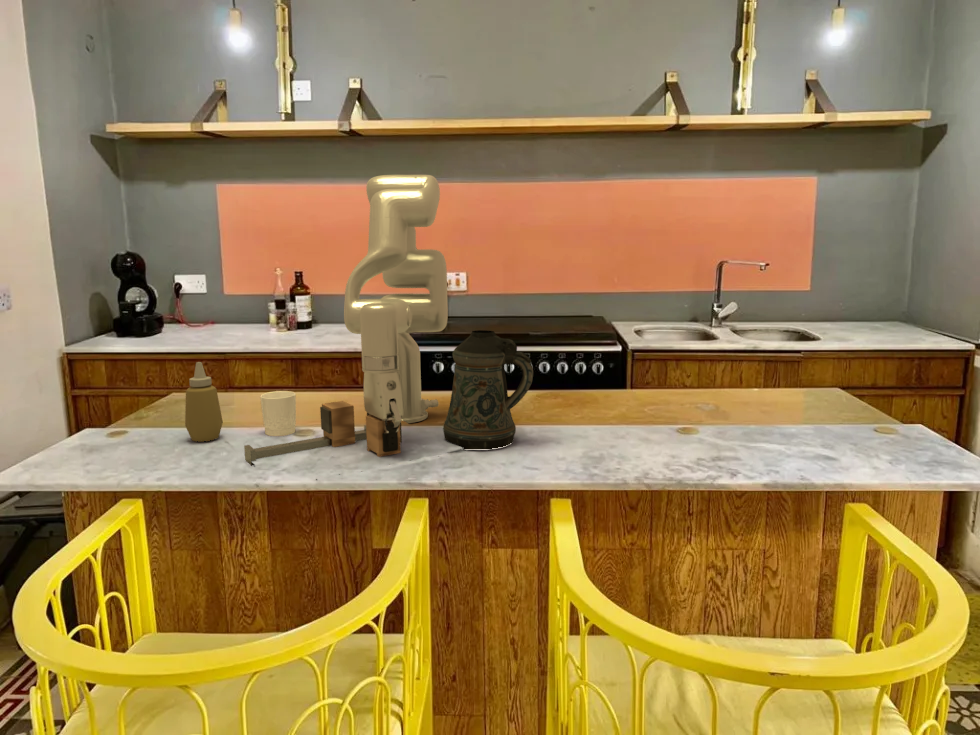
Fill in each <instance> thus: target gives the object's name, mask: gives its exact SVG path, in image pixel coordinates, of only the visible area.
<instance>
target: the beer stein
mask: <svg viewBox="0 0 980 735" xmlns="http://www.w3.org/2000/svg"><path fill="white" fill-rule="evenodd" d="M517 350H518V346H517V344H516V343H515V341H514V340H513V339H510V338H503V337H500V336H498V335H497V334H496V332H495V331H493V330H483V329H482V330H481V329H480V330H472V331H471V333H470V334H469V336H468V337H467V338H465V339H464V340H463V341H462V342H460V344H458V345H457V346H456V347H455V348H454V349H453V351H452V354H451V355H452V359H453V362H454V372H453V373H454V375H453V382H452V391H451V395H450V396H451V397H450V402H449V407H448V410H447V415H446V418H445V420H444V422H443V425H442V431H443V436H444V441H446V442H448V443H451V444H453V445H456V446H458V447H460V448H461V449H492V448H498V447H503V446H506V445H508V444H510V443H512V442H513V443H514V440H513V439H515V434H516V431H517V429H516V423H515V421H514V419H513V416H512V413H511V410H512V408H514V407H515V406H516V405H517V404H518V403H519V402H520V401H521V400H522V399H523V398H524V397H525V395H526V394H527V393H528V391H529V389H530V388H531V385H532V383H533V379H534V378H533V377H534V367H533V364H532V360H531V358H529V357H528V356H527V355H526V353H523V352H521V351H517ZM505 365H506V366H507V365H510V366H511V365H512V366H513V365H514V366H516V367H518V368H519V369H520V370H521V374H522V378H521V380H520V382H519V384H518V386H517V388H516V389H515V390H514V391H513V392H512V393H511V395H510V396H509V395H508V384H507V376H506V371H505V370H506V369H505ZM513 443H512V444H513Z"/></svg>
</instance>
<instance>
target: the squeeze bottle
mask: <svg viewBox="0 0 980 735" xmlns="http://www.w3.org/2000/svg"><path fill="white" fill-rule="evenodd" d="M194 368H195V369H194V374H193V377H191V378H188V379H189V380H188V381H189V387H188V388H187V389H186V390H185V412H184V413H185V415H184V420H185V422H184V426H185V428H186V430H187V432H188V435H189V436H190V440H191V441H192V442H197V441H198V442H201V443H202V442H204V441H206V442H210V440H211V441H214V439H215V440H217V439H219V437H220V434H221V430H222V426H223V415H222V411H221V406H220V400H219V396H218V388H216V387H215V386H214V385H212V384H213V383H212V377H211V376H209V375H208V376H207V374H206V372H205V368H204V366H203V363H202V361H198V362H197V361H196V362H195V367H194Z"/></svg>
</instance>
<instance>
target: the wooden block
mask: <svg viewBox="0 0 980 735" xmlns="http://www.w3.org/2000/svg"><path fill="white" fill-rule="evenodd" d="M319 410H320V428H321V430H322V432H323V437H325V436H327V437H328V438H330V439H332V445H331V446H332V447H333V448H336V447H337V448H338V447H343V446H347V445H354V444H356V441H355V431H356V429H355V408H354V405H353V404H351V403H349V402H347V401H344V400H340V401H333V402H325V403H321V406H320V407H319Z"/></svg>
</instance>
